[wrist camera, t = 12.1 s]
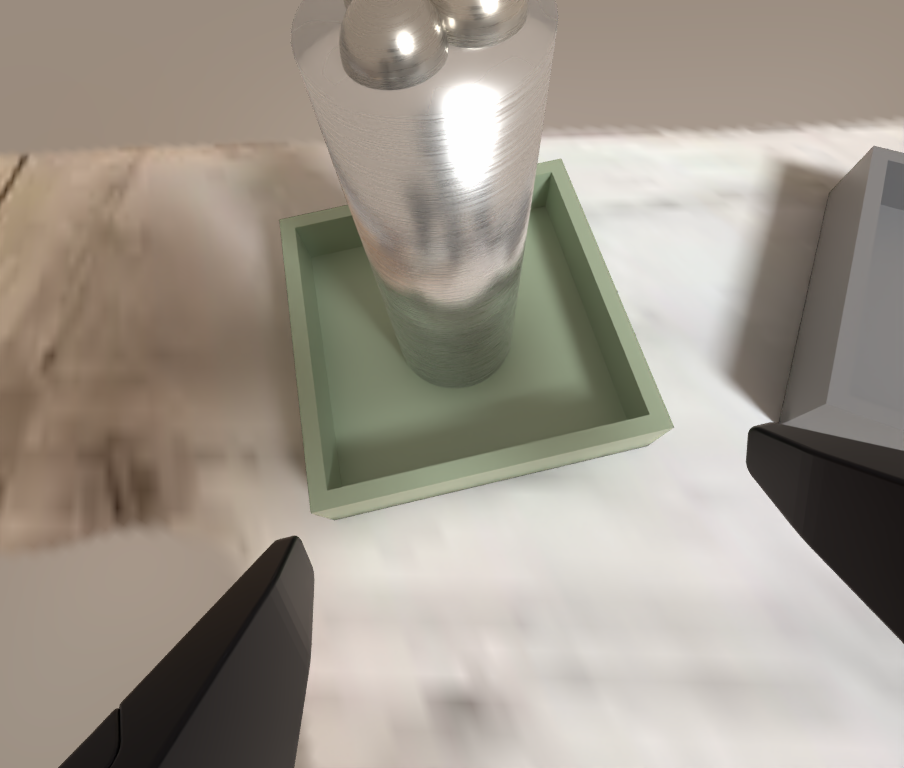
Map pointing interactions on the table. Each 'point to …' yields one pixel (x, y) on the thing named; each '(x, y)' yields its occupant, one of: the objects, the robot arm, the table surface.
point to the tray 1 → (469, 408)
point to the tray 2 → (855, 312)
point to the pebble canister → (435, 159)
